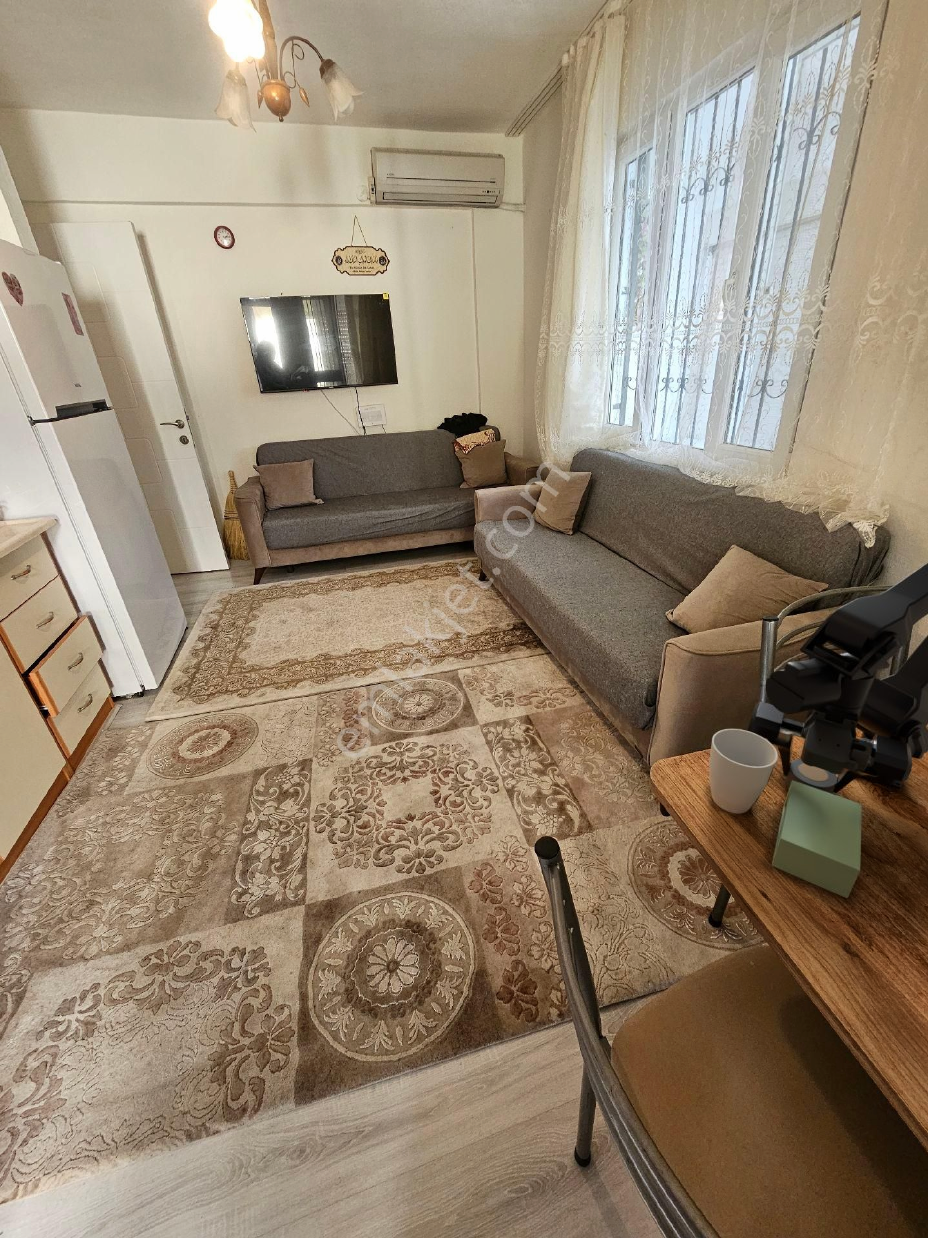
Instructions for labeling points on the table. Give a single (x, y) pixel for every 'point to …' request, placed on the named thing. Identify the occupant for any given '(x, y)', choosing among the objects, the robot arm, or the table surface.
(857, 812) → the sage green box
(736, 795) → the cup
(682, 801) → the table surface
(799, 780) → the tape
